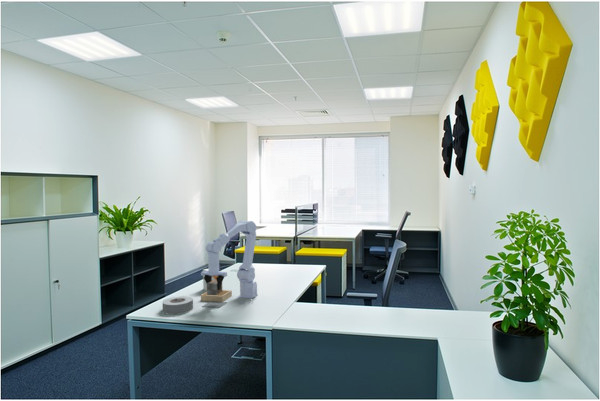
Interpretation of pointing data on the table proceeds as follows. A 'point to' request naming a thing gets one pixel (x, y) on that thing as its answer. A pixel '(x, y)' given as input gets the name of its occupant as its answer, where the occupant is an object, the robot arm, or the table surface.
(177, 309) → the tape roll
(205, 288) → the small box
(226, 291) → the shallow wooden tray
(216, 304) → the panel
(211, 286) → the box
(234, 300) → the table surface
